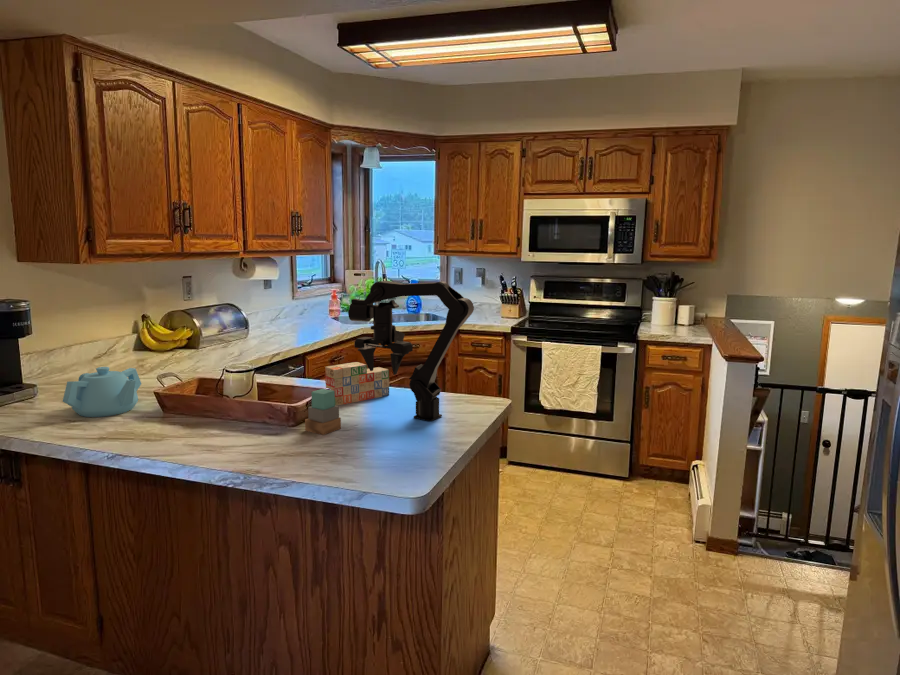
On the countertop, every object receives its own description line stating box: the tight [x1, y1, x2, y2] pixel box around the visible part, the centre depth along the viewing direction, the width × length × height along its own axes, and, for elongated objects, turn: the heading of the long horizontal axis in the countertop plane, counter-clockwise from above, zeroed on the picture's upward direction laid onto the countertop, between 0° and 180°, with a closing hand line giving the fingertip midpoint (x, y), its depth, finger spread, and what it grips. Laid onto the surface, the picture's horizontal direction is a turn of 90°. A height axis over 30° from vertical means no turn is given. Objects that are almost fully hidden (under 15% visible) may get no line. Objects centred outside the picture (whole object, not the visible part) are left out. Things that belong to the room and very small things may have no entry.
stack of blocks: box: [324, 361, 390, 406], centre depth 198 cm, size 21×6×12 cm, turn 130°
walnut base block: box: [304, 416, 342, 436], centre depth 165 cm, size 7×7×4 cm
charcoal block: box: [307, 405, 340, 423], centre depth 165 cm, size 6×6×4 cm
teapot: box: [62, 366, 142, 418], centre depth 182 cm, size 19×19×14 cm
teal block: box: [310, 388, 335, 410], centre depth 164 cm, size 4×4×4 cm
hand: (383, 372), depth 180 cm, fingers open, 9 cm apart
